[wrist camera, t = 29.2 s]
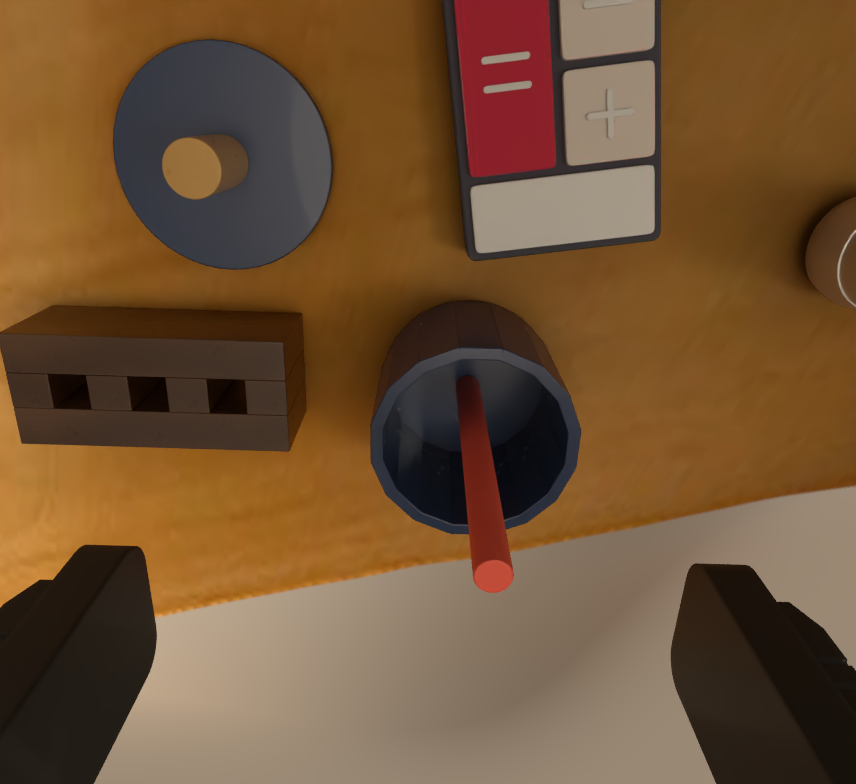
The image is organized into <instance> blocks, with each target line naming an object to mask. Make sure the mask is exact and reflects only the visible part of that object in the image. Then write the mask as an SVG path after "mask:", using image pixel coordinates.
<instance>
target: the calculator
mask: <svg viewBox="0 0 856 784" xmlns="http://www.w3.org/2000/svg"><path fill="white" fill-rule="evenodd" d="M442 8H443V18H444V29H445V39H446V49H447V60H448V70H449V81H450V91H451V102H452V112H453V122H454V133H455V143H456V154H457V164H458V175H459V187H460V198H461V209H462V219H463V230H464V240H465V248H466V251H467V254H468V257H469V258H470V259H471V260H473V261H481V260H490V259H499V258H507V257H516V256H525V255H534V254H542V253H551V252H560V251H568V250H577V249H586V248H594V247H603V246H612V245H620V244H629V243H638V242H646V241H653V240H656V239H657V238H658V237H659V235H660V231H661V0H442Z"/></svg>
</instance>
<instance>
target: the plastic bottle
mask: <svg viewBox="0 0 856 784" xmlns="http://www.w3.org/2000/svg"><path fill="white" fill-rule="evenodd" d="M805 266H806V271H807V274H808V277H809V279H810V281H811V282H812V284H813V285H814V286H815V288H816V289H817V290H818V291H819V292H821V293H822V294H823V295H824V296H825V297H826V298H827V299H829V300H830V301H831V302H833V303H835V304H838V305H840V306H843V307H847V308H851V309H856V197H853V198H850V199H848V200H846V201H843V202H842V203H840V204H839V205H837V206H835V207H834V208H833V209H832V210H830V211H829V212H828V213H827V214H826V215H825V216H824V217H823V218H822V219H821V221H820V222H819V223H818V224H817V226H816V228H815V229H814V231H813V232H812V234H811V237H810V239H809V242H808V244H807V249H806V253H805Z"/></svg>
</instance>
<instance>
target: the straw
mask: <svg viewBox="0 0 856 784" xmlns="http://www.w3.org/2000/svg"><path fill="white" fill-rule="evenodd" d="M456 396H457V406H458V417H459V428H460V439H461V450H462V461H463V472H464V483H465V494H466V505H467V516H468V527H469V537H470V548H471V559H472V570H473V579H474V582H475V584H476V585H477V586H478V587H479V588H480V589H481V590H483V591H486V592H490V593H495V592H500V591H503V590H505V589H506V588H507V587H508V586H509V585H510V584H511V582H512V581H513V576H514V574H513V568H512V562H511V557H510V551H509V545H508V540H507V534H506V529H505V523H504V518H503V512H502V507H501V501H500V496H499V490H498V484H497V479H496V473H495V468H494V462H493V457H492V451H491V446H490V440H489V435H488V429H487V423H486V418H485V412H484V407H483V401H482V396H481V390H480V385H479V382H478V380H477V379H476V378H475V377H473V376H463V377H461V378H460V379H459V380H458V381H457V383H456Z"/></svg>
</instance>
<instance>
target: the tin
mask: <svg viewBox="0 0 856 784" xmlns="http://www.w3.org/2000/svg"><path fill="white" fill-rule="evenodd" d="M463 376H473V377H475V378H476V379H477V380H478V382H479V385H480V390H481V396H482V401H483V407H484V412H485V418H486V423H487V429H488V435H489V440H490V446H491V451H492V457H493V462H494V468H495V473H496V479H497V484H498V490H499V496H500V501H501V507H502V512H503V518H504V523H505V529H509V528H512V527H515V526H519V525H522V524H525V523H527V522H529V521H530V520H531V519H533V518H534V517H535V516H537V515H538V514H539V513H541V512H542V511H543V510H545V509H546V508H547V507H548V506H550V505H551V504H552V503H554V502H555V501H556V500H557V499H558V497H559V495H560V494H561V492H562V491H563V489H564V487H565V486H566V484H567V482H568V481H569V479H570V477H571V476H572V474H573V473H574V471H575V469H576V466H577V459H578V452H579V444H580V437H581V428H580V425H579V422H578V419H577V416H576V413H575V409H574V406H573V403H572V400H571V397H570V395H569V393H568V391H567V388H566V386H565V384H564V382H563V380H562V378H561V376H560V374H559V372H558V370H557V368H556V366H555V364H554V362H553V360H552V358H551V356H550V354H549V352H548V350H547V348H546V346H545V344H544V342H543V341H542V340H541V339H540V337H539V336H538V335H537V334H536V333H535V331H534V330H533V329H532V328H531V327H530V326H529V325H528V324H527V323H526V322H525V321H524V320H523V319H522V318H520V317H519V316H517V315H516V314H515V313H513V312H511V311H509V310H507V309H505V308H503V307H500V306H497V305H495V304H491V303H486V302H481V301H456V302H450V303H446V304H442V305H439V306H436V307H434V308H431V309H429V310H427V311H425V312H423V313H422V314H420V315H418V316H417V317H416V318H414V319H413V320H412V321H411V322H409V323H408V324H407V325H406V326H405V327H404V328H403V329H402V330H401V331H400V333H399V334H398V335H397V336H396V338H395V339H394V341H393V343H392V345H391V347H390V348H389V351H388V353H387V356H386V359H385V361H384V363H383V365H382V369H381V374H380V379H379V385H378V390H377V395H376V400H375V405H374V410H373V416H372V421H371V464H372V466H373V468H374V470H375V472H376V475H377V477H378V479H379V481H380V483H381V485H382V487H383V490H384V492H385V494H386V495H387V496H388V497H389V498H390V499H391V500H392V501H393V502H394V503H396V504H397V505H398V506H399V507H400V508H401V509H402V510H403V511H404V512H406V513H407V514H408V515H409V516H410V517H411V518H412V519H414V520H415V521H418V522H421V523H423V524H426V525H428V526H431V527H434V528H436V529H439V530H441V531H444V532H447V533H450V534H469V527H468V516H467V505H466V494H465V483H464V472H463V461H462V450H461V439H460V428H459V417H458V406H457V396H456V383H457V381H458V380H459V379H460V378H461V377H463Z"/></svg>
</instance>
